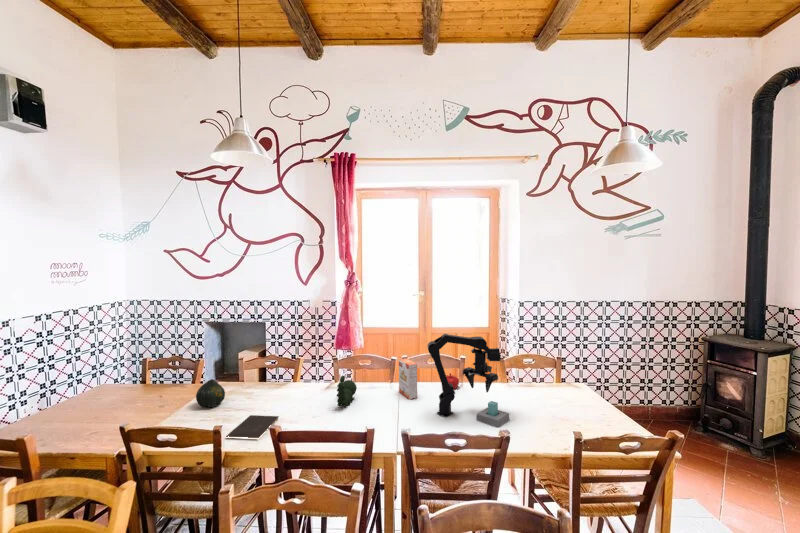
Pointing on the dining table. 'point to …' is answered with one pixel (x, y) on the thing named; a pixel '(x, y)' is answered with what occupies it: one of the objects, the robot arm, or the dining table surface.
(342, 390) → the toy figurine
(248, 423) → the hardcover book
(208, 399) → the squash
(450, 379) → the pomegranate
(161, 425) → the dining table surface
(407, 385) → the cracker box
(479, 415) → the socket block
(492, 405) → the teal rectangular block
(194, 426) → the dining table surface
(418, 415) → the dining table surface
